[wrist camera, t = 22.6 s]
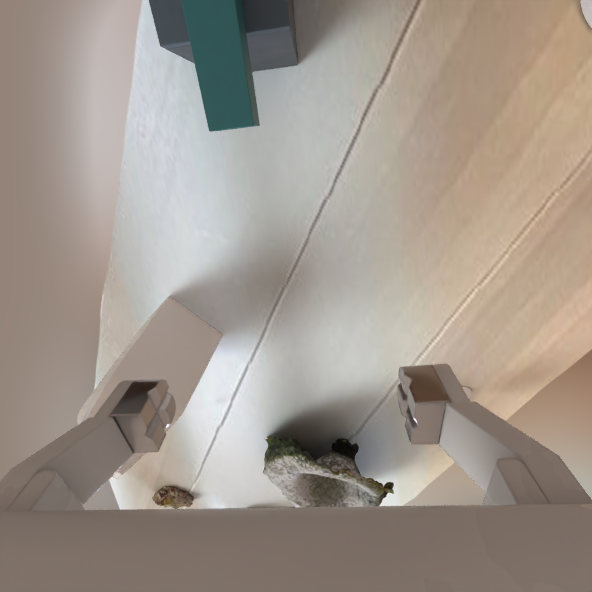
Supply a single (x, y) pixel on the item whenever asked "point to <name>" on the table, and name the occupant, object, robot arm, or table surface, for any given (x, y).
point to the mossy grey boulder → (321, 476)
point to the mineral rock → (172, 498)
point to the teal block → (222, 62)
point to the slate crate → (259, 28)
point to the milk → (160, 360)
